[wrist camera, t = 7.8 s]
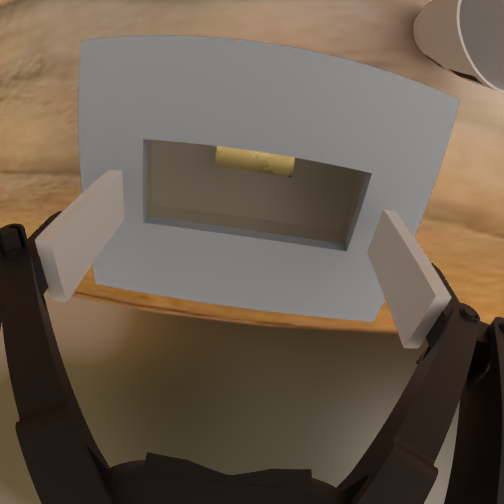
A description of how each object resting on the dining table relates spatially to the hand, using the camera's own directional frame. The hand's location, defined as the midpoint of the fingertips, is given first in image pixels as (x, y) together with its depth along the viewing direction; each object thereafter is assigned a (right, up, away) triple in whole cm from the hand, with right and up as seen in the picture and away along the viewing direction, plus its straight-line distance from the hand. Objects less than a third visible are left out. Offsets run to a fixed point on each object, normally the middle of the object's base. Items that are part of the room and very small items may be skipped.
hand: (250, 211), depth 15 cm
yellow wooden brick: (0, +7, +11) cm, 13 cm away
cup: (+16, +17, +4) cm, 24 cm away
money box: (+1, +8, +11) cm, 14 cm away
